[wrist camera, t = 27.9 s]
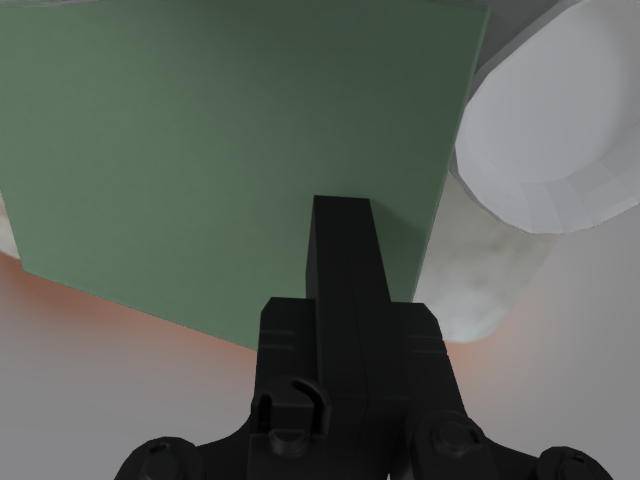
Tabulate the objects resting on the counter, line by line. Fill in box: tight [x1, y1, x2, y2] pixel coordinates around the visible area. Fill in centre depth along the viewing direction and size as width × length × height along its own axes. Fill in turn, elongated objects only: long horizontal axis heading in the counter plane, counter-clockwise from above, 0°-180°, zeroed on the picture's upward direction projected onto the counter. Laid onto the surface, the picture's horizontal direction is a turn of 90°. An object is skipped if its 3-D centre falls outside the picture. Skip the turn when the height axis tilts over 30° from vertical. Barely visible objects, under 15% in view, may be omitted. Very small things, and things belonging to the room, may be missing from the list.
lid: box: [0, 0, 491, 351], centre depth 17 cm, size 15×13×1 cm
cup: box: [450, 0, 640, 234], centre depth 22 cm, size 10×10×10 cm
